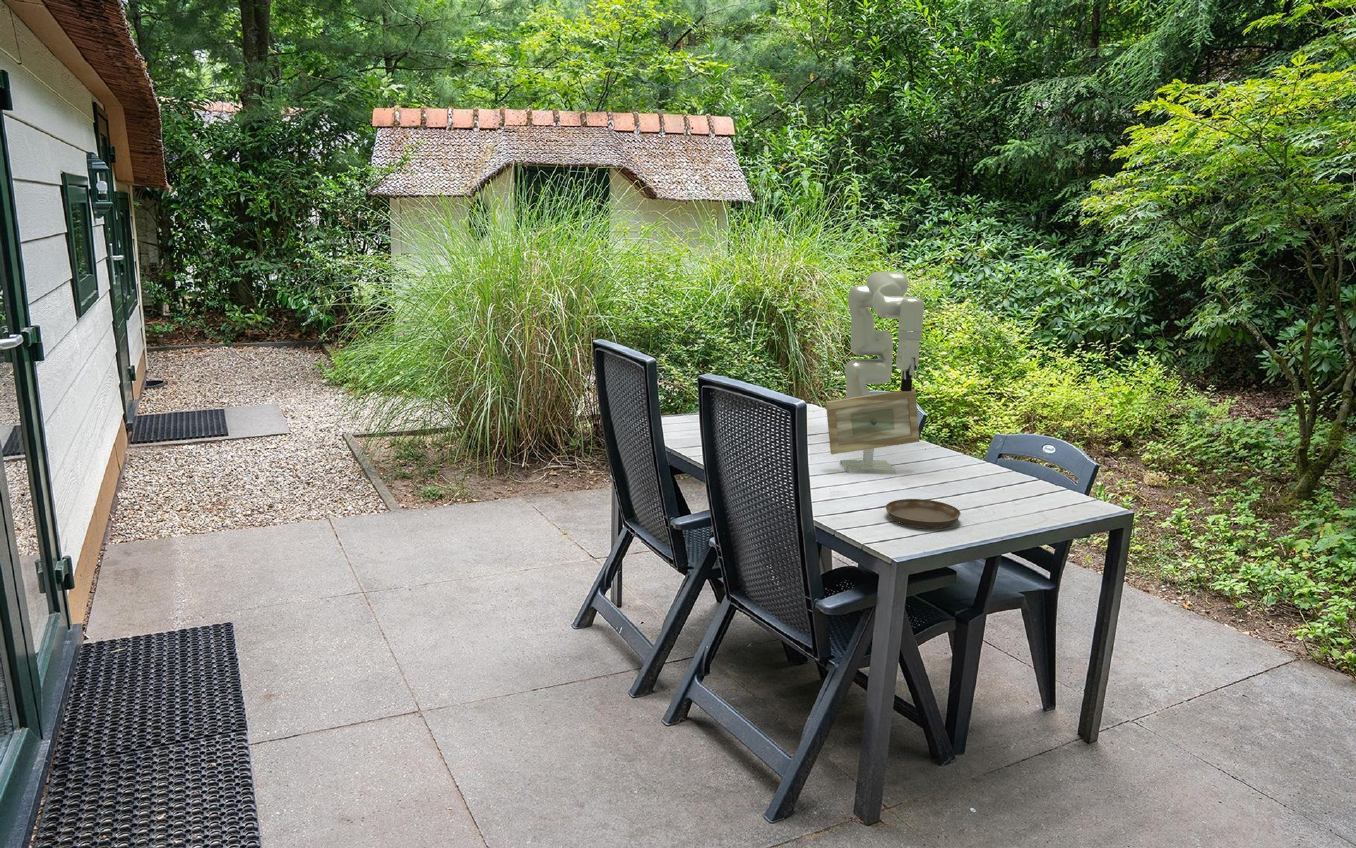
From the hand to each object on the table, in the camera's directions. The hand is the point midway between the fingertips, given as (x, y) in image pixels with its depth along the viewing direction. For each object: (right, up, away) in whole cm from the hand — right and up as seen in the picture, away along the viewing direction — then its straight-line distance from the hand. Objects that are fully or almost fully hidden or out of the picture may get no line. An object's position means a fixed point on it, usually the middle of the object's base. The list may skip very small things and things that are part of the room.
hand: (905, 390), depth 311 cm
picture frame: (-9, -19, +4) cm, 22 cm away
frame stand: (-11, -26, +8) cm, 30 cm away
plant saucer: (-7, -39, -46) cm, 60 cm away
